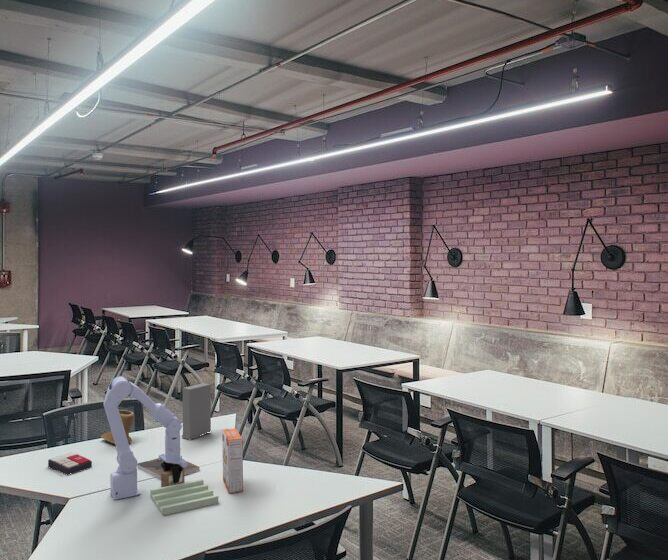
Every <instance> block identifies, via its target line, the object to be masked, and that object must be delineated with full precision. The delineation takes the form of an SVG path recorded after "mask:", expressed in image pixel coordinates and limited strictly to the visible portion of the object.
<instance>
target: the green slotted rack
mask: <svg viewBox="0 0 668 560" xmlns="http://www.w3.org/2000/svg"><path fill="white" fill-rule="evenodd" d="M149 491H150V492H149V493H150V494H149V495H150V498H151V499H152V501H153V502H154V504H155V505H156V507H157V508H158V510H159V511H160V513H161V514H162V516H166V515H171V513H172V514H177V513H179V512H180V511H181V512H185V511H189V510H188V509H190V510H193V508H194V509H198V508H197V507H199V508H202V506H203V507H207V505H208V506H210V505H211V506H212V505H215V504H216V505H217V504H219V495H218V494H216V495H214V490H213V489H209V484H204V479H197V480H193V481H188V482H184V483H181V484H176V485H171V486H166V487H161V486H160V487H157V488H152V489H150V490H149ZM184 510H185V511H184ZM181 512H180V513H181Z"/></svg>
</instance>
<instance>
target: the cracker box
mask: <svg viewBox="0 0 668 560" xmlns="http://www.w3.org/2000/svg"><path fill="white" fill-rule="evenodd" d="M221 432H222V435H221V436H222V437H221V438H222V444H221V445H222V481H223V484H224V485H225V488H226V490H227V492H228V494H233V493H240V492H244V469H243V468H244V457H243V456H244V453H243V452H244V450H243V448H244V447H243V446H244V445H243V444H244V442H243V441H244V440H243V437H242V436H241V435H240V433H239V431H238V430H237V428H225V429H222V431H221Z"/></svg>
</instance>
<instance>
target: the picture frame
mask: <svg viewBox="0 0 668 560" xmlns="http://www.w3.org/2000/svg"><path fill="white" fill-rule="evenodd" d="M163 462H164V461H163V460H159V457H158V458H154V459H150V460H148V461H142V462H139V463H138V462H137V469H139V470H141V471H143V472H145V473H146V474H149V475H150V476H152V477H154V478H156V479H158V480H160V481H161V473H163V472H164V470H163V468H162V467H161V463H163ZM174 465H175V464H174ZM199 471H200V466H198V465H196V464H194V463H192V462H189V461H187V467H184V476H187V475H190V474H193V473H196V472H199Z"/></svg>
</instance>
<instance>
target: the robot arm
mask: <svg viewBox="0 0 668 560" xmlns="http://www.w3.org/2000/svg"><path fill="white" fill-rule="evenodd" d="M127 397H128V398H130V399H136V400H138V402H140V404H142V405H143V406H145V407H146V408H147V409H148V410H149V416H151V417H152V418H153V419H154V420H155V421H157V422H158V423H159V424H160V425H161V426H163V428H165V429H164V430H165V433H164V434H165V436H164V453H161V454H158V458H159V460H163V461H164V462H163V463H161V467H162V468H163V470H164V472H166V471H168V470H172V474H173V482H174V483H178V482H179V479H180V475H181V472H182V470H183V468H184V467H187V462H188V461H187V460H185V459H183V456H182V455H181V430H182V429H183V424H182V421H181V420H180V419H179V418H178V417H177V415H176V414H175V413H174V412H172V411H170V410H169V409H168V408H167V405H166V404H164V403H160V402H159V403H156V402H155V401H154V400H152V399H151V397H150V396H148V395H147V394H146V393H145V392H144V391H143V390H142V389H141V388H140V387H139V386H137V385H136V384H135V383H133V382H131V381H130V380H129V381H128V378H126V377H125V376H121V375H119V376H116V377H115V378H113V379H112V380H111V381H110V383H109V384H108V387H107V391H106V392H105V397H104V400H103V403H102V404H103V408H104V411H105V415H106V418H107V421H108V422H107V423H108V424H109V428H110V432H112V435H113V438H114V442H115V444H114V445H115V447H116V452H117V454H116V455H117V456H116V462H117V463H118V467H117V469H116V471H113V472H111V473H110V477H109V478H110V484H109V485H110V488H109V489H110V491H109V493H110V495H111V496H112V499H113V500H120V499H126V498H131V497H134V496H139V495H141V492H140V491H139V489H138V468H137V464H138V460H137V458H136V457H135V455H134V452H133V451H132V449H131V447H130V444H129V443H130V442H128V440H127V436H126V433H125V430H124V426H123V423H122V419H121V416H120V413H119V410H120V409H119V406H120V404H121V402H122V401H123V400H125V399H126V398H127ZM174 464H175V465H174Z"/></svg>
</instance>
